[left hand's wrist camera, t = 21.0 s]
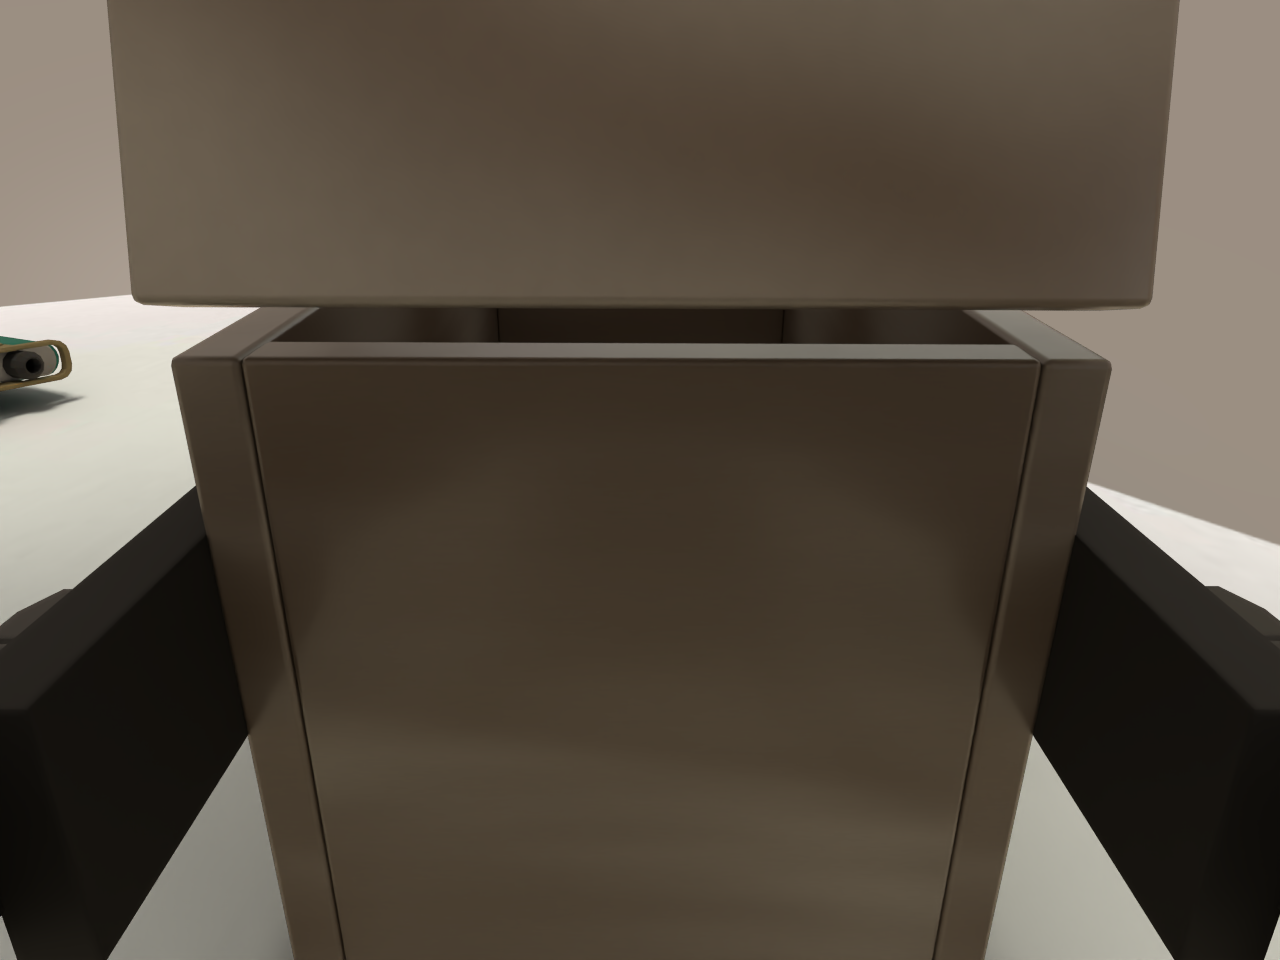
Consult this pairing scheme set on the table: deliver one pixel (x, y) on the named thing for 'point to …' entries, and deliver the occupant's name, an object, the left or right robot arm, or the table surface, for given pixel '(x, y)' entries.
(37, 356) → the spray gun
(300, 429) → the chest
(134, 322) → the table surface
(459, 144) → the lid
